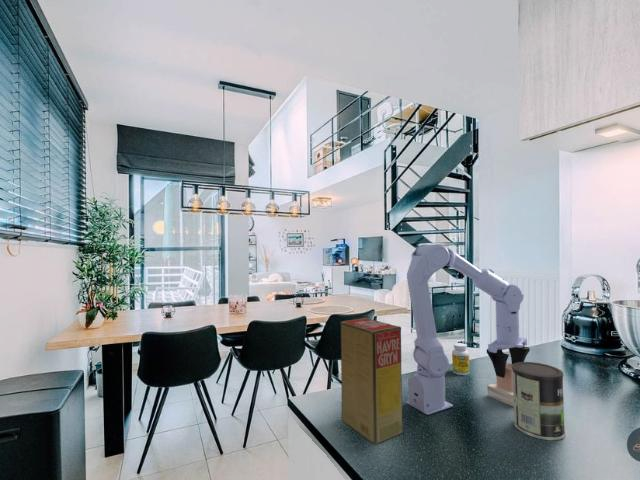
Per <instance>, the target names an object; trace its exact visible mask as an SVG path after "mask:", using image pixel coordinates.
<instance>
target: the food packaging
mask: <svg viewBox="0 0 640 480" xmlns="http://www.w3.org/2000/svg"><path fill="white" fill-rule="evenodd" d="M340 358H341V359H340V365H341V366H340V367H341V369H340V370H341V371H340V372H341V373H340V374H341V375H340V376H341V377H340V379H341V421H342V422H343V423H345V424H346V425H347V426H348V427H350V428H351V429H353V430H354V431H355V432H356V433H358V434H359V435H360V436H361V437H362V438H364V439H366V441H368V442H369V443H372V444H373V445H374V446H376V445H379V444H381V443H383V442H385V441H387V440H391V439H392V438H394V437H396V436H399V435H401V434H403V433H404V432H403V398H402V397H403V393H402V388H403V387H402V327H401V326H399V325H394V324H390V323H387V322H383V321H382V322H381V321H380V320H379V321H378V320H374V319H371V318H367V317H362V318H355V319H349V320H348V319H347V320H343V321H340Z"/></svg>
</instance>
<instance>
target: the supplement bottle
mask: <svg viewBox="0 0 640 480" xmlns="http://www.w3.org/2000/svg"><path fill="white" fill-rule="evenodd" d="M467 346H468V345H467V344H466V343H463V342H455V343H454V344H453V348H454V349H453V350H452V352H451V354H452V359H451V361H452V372H453V373H454V374H456V375H459V376H468V375H470V371H471V370H470V353H469V351H468V350H467V348H468V347H467Z"/></svg>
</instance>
